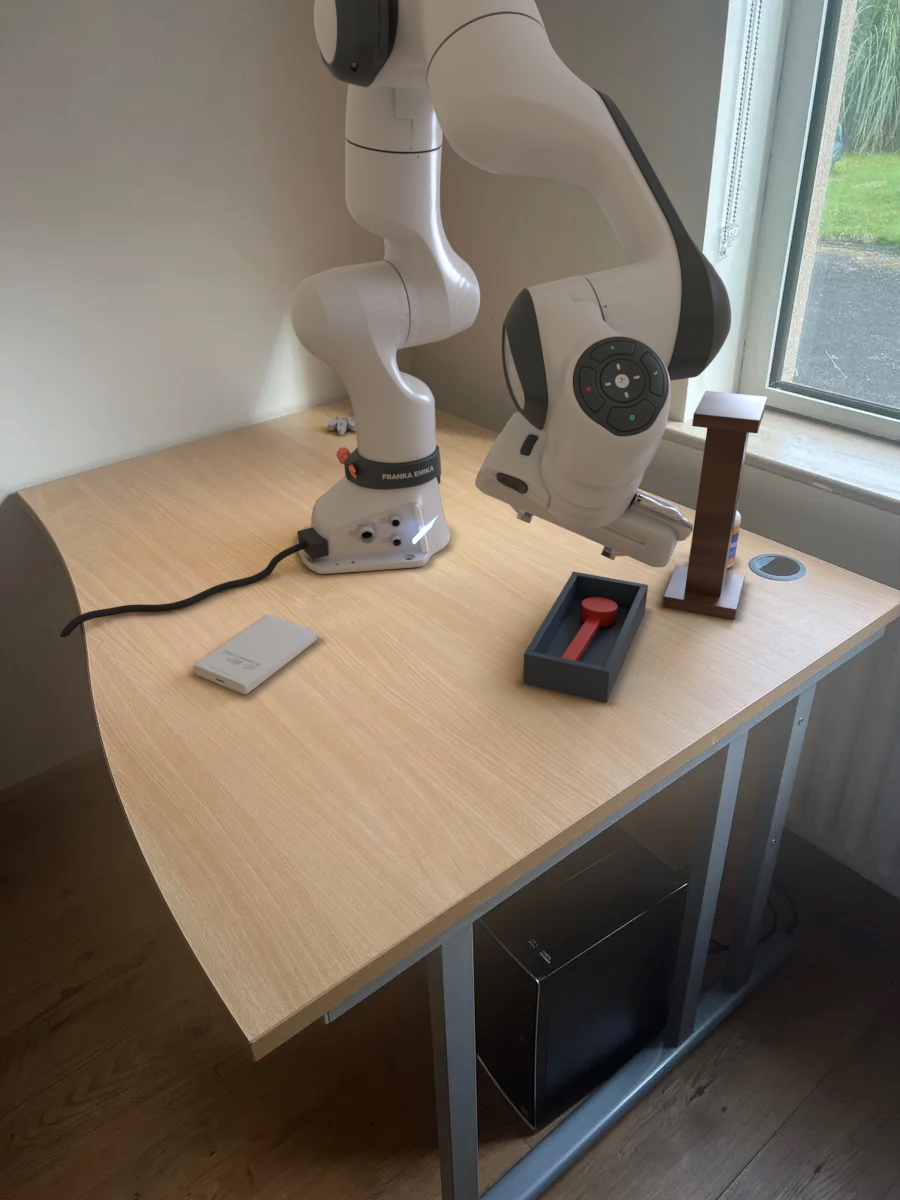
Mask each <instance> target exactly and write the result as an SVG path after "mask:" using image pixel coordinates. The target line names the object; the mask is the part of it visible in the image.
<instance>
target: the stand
mask: <svg viewBox="0 0 900 1200" xmlns="http://www.w3.org/2000/svg"><path fill="white" fill-rule="evenodd" d="M767 402H768V396H763V395H755V394H753V395H752V394H744V393H734V392H733V393H732V392H723V391H713V390H712V391H711V390H705V392H704V394H703V395H702V397H701V399H700V401H699V403H698V404H697V407H696V408H695V411H694V412H693V414H692V415H693V416H692V424H691V426H692V427H694V428H695V427H697V428H703V429H706V434H705V440H704V441H705V442H704V448H703V455H702V463H701V471H700V478H699V485H698V492H697V500H696V506H695V514H694V521H693V531H692V536H691V541H690V542H691V544H690V550H689V558H688V565H683V564H675V565H674V569H673V572H672V574H671V576H670V579H669V581H668V584H667V586H666V589H665V591H664V593H663V597H662V604H661V607H665V608H671V609H675V610H681V611H686V612H691V613H697V614H702V615H707V616H708V615H709V616H714V617H719V618H724V619H729V620H736V616H737V614H738V609H739V605H740V601H741V597H742V593H743V591H744V590H743V589H744V586H745V580H746V575H743V574H737V573H731V572H727V571H728V568H727V565H728V559H729V553H730V547H731V541H732V535H733V528H734V522H735V516H736V510H737V509H738V507H737V504H738V505H739V498H740V491H741V485H742V479H743V473H744V465H745V460H746V455H747V448H748V444H749V443H748V442H749V436H750V434H758V433H759V430H760V426H761V423H762V421H763V417H764V414H765V412H766V408H767ZM737 511H738V510H737Z"/></svg>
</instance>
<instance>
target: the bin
mask: <svg viewBox="0 0 900 1200" xmlns="http://www.w3.org/2000/svg"><path fill="white" fill-rule="evenodd" d="M570 574H571V575H570V576H569V578H568V579H567V581H566V583H565V585H564V586H563V587H562V590H561V591H560V593H559V595H558V596H557V597H556V599H555V601H554V603H553V605H552V606H551V608H550V609H549V612H548V613H547V614H546V616H545V618H544V620H543V621H542V623H541V624H540V626H539V628H538V630H537V632H536V633H535V634H534V637H533V638H532V640H531V642H530V643H529V645H528V646H527V648H526V650H525V651H524V653H523V675H522V676H523V677H522V679H523V680H522V684H524V685H529V686H533V687H537V688H542V689H546V690H551V691H555V692H559V693H564V694H568V695H573V696H577V697H582V698H585V699H590V700H593V701H599V702H602V703H607V702H608V701H609V699H610V696H611V693H612V691H613V690H614V686H615V684H616V681H617V679H618V677H619V674H620V673H621V671H622V668H623V665H624V663H625V661H626V658H627V655H628V654H629V651H630V649H631V646H632V644H633V641H634V639H635V636H636V634H637V632H638V629H639V627H640V625H641V622H642V620H643V618H644V615H645V613H646V606H647V599H648V598H647V597H648V589H649V584H645V583H640V582H636V581H628V580H624V579H618V578H612V577H606V576H602V575H601V576H600V575H595V574H590V573H583V572H578V571H572V573H570ZM591 597H601V598H607V599H610V600H612V601H614V602H615V603H616V604H617V606H618V608H617V617H616V622H615V623H614V624H613V625H610V626H604V627H600V628H599V629H598V631H597V632H596V634H595V636H594V637H593V639H592V640H591V642H590V644H589V645H588V647H587V648H586V650H585V652H584V653H583V655H582V656H581V658H580V660H579V661H575V660H570V659H565V658H561V657H562V656H563V654H564V653H565V651H566V650H567V648H568V647H569V645H570V644H571V642H572V641H573V639H574V638H575V636H576V635H577V633H578V632H579V630H580V629H581V627H582V626H583V624H584V622H583V621H582V620H581V618H580V613H581V603H582V601H583V600H584V599H587V598H591Z"/></svg>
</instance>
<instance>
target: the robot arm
mask: <svg viewBox="0 0 900 1200" xmlns="http://www.w3.org/2000/svg"><path fill="white" fill-rule="evenodd" d="M313 27H314V33H315V39H316V42H317V45H318V49H319V53H320V57H321V60H322V62H323V65H324V66H325V67H326V68H327V70H328V71H329V72H330V74H331V75H332V77H334V79H336V80H338V81H340V82H343V83H346V84H347V94H346V102H345V103H346V105H345V122H344V123H345V124H344V199H345V204H346V207H347V210H348V212H349V214H350V216H351V217H352V219H354V221H355V222H356V223H357V224H358V225H359V226H360V227H362V228H363V229H364V230H366V231H368V232H370V233H372V234H374V235H375V236H378V237H380V238H382V239H383V244H384V255H383V259H380V260H378V261H377V260H376V261H370V262H363V263H356V264H348V265H340V266H334V267H331V268H329V269H326V270H322V271H320V272H318V273H315V274H313V275H310V276H308V277H306V278H303V279H301V280H300V282H299V283H298V284H297V286H296V288H295V291H294V292H293V295H292V299H291V303H290V304H291V305H290V321H291V324H292V328H293V331H294V333H295V336H296V337H297V339H298V341H299V342H300V344H301V345H302V346H303V348H304V349H305V350H306V351H308V353H310V354H311V355H312V356H313V357H315V358H317V359H319V360H320V361H322V362H324V363H325V364H326V365H328V366H329V367H330V368H331V369H332V370H333V371H334V372H335V373H336V375H337V376H338V377H339V378H340V379H341V382H342V383H343V385H344V387H345V388H346V389H345V390H346V391H347V394H348V396H349V400H350V403H351V409H352V413H353V418H354V421H355V429H356V431H355V438H356V448H355V449H353V451H352V452H351V451H350V450H349V449H348V447H339V448H338V449H337V451H335V452H336V455H335V457H336V459H337V460H338V462H339V463H340V464H341V465H343V466H344V467H343V468H344V474H345V475H344V476H343V477H342V478H341V479H340V480H339V481H338V482H337V483H335V484H334V485H333V486H331V487H330V488H329V489H328V490H327V491H326V492H325V493H323V494H322V495H321V496H320V497H318V498H317V499H316V501H315V503H314V505H313V507H312V512H311V518H310V525H308V526H305V527H304V528H302V529H300V530H297V531H296V533H297V543H296V544H293V545H292V546H290V547H287V548H285V549H283V550H282V551H280V552H279V553H277V554H275V556H273V557H272V558H271V560H270V561H269V563H268V564H267V565H266V567H265V568H264V569H262V570H261V571H259V572H258V573H256V574H253V575H251V576H248V577H243V578H240V579H239V578H238V579H235V580H229V581H226V582H223V583H218V584H217V585H215V586H211V587H209V588H207V589H205V590H203V591H201V592H198V593H197V594H193V595H192V596H189V597H187V598H184V599H182V600H179V601H174V602H170V603H161V604H160V603H159V604H144V603H143V604H123V605H119V606H113V607H108V608H102V609H95V610H91V611H87V612H84V613H82V614H80V615H77V616H76V617H74V618H73V619H71V621H69V622H68V623H67V624H66V625H65V626H64V628H63V629H62V631H61V632H60V634H59V637H60V638H66V637H68V636H70V635H71V634H72V632H73V631H74V630H75V629H76V628H77V627H78V626H79V625H81V624H83V623H85V622H87V621H90V620H94V619H99V618H104V617H110V616H116V615H120V614H121V615H122V614H127V613H163V612H165V613H166V612H170V611H177V610H180V609H183V608H184V609H185V608H186V607H189V606H192V605H195V604H197V603H200V602H201V601H203V600H205V599H207V598H209V597H210V598H211V596H213V595H216V594H219V593H221V592H224V591H227V590H230V589H234V588H238V587H243V586H248V585H251V584H255V583H257V582H259V581H261V580H264V579H265V578H267V577H268V576H270V575H271V574H272V573H273V571H274V570H275V568H276V567H277V565H278V564H279V563H280V562H281V561H283V560H284V559H286V558H288V557H289V556H291V555H294V554H295V553H298V555H299V558H300V561H302V563H303V564H304V566H305V567H306V568H307V569H310V571H312V572H314V573H317V574H319V575H328V574H341V573H342V574H343V573H354V572H357V573H358V572H370V571H383V570H397V569H411V568H412V569H413V568H421V567H423V566H425V565H426V564H427V563H428V562H429V560H430V559H431V558H432V557H433V556H434V555H435V554H437V553H439V552H440V551H441V550H443V549H444V548H445V547H446V546H447V545H448V544H449V542H450V540H451V537H452V536H451V535H452V534H451V530H450V529H449V527H448V526H449V525H448V523H447V520H446V516H445V513H444V512H445V511H444V508H443V502H442V497H441V489H440V484H441V476H442V458H441V457H442V456H441V452H440V446H439V445H437V425H436V404H435V403H436V400H435V397H434V395H433V392H432V390H431V389H430V388H429V386H428V385H427V384H426V383H425V382H424V381H423V380H421V379H419V378H418V377H416V376H414V375H411V374H410V373H407V372H404V371H400V370H399V366H398V362H397V351H399V350H402V349H406V348H407V349H408V348H412V347H417V346H423V345H428V344H433V343H438V342H442V341H444V340H447V339H449V338H452V337H454V336H456V335H458V334H460V333H462V332H464V331H466V330H468V329H470V328H471V327H472V325H473V324H474V323H475V321H476V319H477V316H478V314H479V310H480V306H481V290H480V285H479V284H480V283H479V281H478V277H477V276H476V274H475V272H474V270H473V269H472V267H471V266H470V265H469V263H468V262H466V260H464V259H463V258H462V257H461V256H459V255H458V253H456V251H455V250H454V248H452V246H451V243H450V242H449V240H448V238H447V235H446V233H445V229H444V226H443V220H442V214H441V213H442V212H441V173H442V172H441V170H442V154H443V153H442V152H443V136H444V137H445V139H446V141H447V143H448V144H449V146H450V147H451V148H452V150H453V151H454V152H455V153H456V154H457V155H458V156H459V157H460V158H462V159H463V160H464V161H466V162H467V163H469V164H471V165H472V166H474V167H476V168H478V169H481V170H482V171H485V172H488V173H490V174H494V175H498V176H504V177H513V178H514V177H515V178H526V179H535V180H542V181H548V182H554V183H557V184H562V185H566V186H569V187H573V188H574V189H578V190H580V191H581V192H583V193H585V194H587V195H588V196H590V197H591V198H592V199H593V200H594V201H595V202H596V203H597V204H598V205H599V207H600V208H601V210H602V212H603V214H604V216H605V217H606V218H605V219H606V220H607V222H608V224H609V226H610V227H611V230H612V231H613V233H614V235H615V237H616V239H617V240H618V242H619V244H620V246H621V248H622V250H623V252H624V254H625V255H626V258H627V259H628V261H629V263H630V264H625V265H622V266H617V267H613V268H608V269H604V270H599V271H596V272H591V273H587V274H577V275H572V276H568V277H563V278H560V279H555V280H551V281H548V282H543V283H539V284H536V285H532V286H530V287H527V288H525V287H524V288H523V289H521V291H520V292H519V293H518V294H517V295H516V296H515V298H514V300H513V301H512V302H511V305H510V307H509V309H508V311H507V312H506V315H505V318H504V319H503V323H502V329H501V361H502V369H503V374H504V380H505V383H506V387H507V390H508V392H509V393H508V394H509V395H510V398H511V400H512V403H513V404H514V406H515V408H516V409H517V412H514V413H513V414H512V415H511V417H509V419H508V421H507V422H506V424H505V425H504V427H503V429H502V431H501V432H500V433H498V434H497V436H496V437H495V439H494V441H493V443H492V445H491V446H490V448H489V451H488V452H487V454H486V456H485V458H484V460H483V462H482V464H481V466H480V468H479V470H478V472H477V475H476V477H475V480H474V481H475V482H474V484H475V485H474V486H475V487H476V488H477V490H479V491H480V492H481V493H482V494H484V495H486V496H489V497H491V498H493V499H495V500H498V501H500V502H503V503H504V504H507V505H509V506H510V507H511V508H512V509H513V511H515V512H516V513H517V514H516V519H517V520H520V521H521V522H525V523H527V524H531V522H532V519H533V517H537V518H539V519H542V520H544V521H546V522H549V523H551V524H552V525H556V526H558V527H560V528H562V529H565V530H567V531H569V532H572V533H574V534H576V535H578V536H580V537H583V538H585V539H587V540H590V541H593V542H595V543H597V544H599V545H601V546H603V548H602V550H601V553H600V556H603V557H605V558H608V559H609V560H611V561H615V559H616V558H617V557H629V558H631V559H634V560H636V561H638V562H641V563H643V564H645V565H647V566H649V567H652V568H665V567H666V566H668V564H669V562H670V559H671V557H672V556H673V553H674V551H675V549H676V546H677V544H678V542H683V541H686V540H687V539H688V538H689V537H690V536H691V534H693V528H694V523H693V522H691V521H689V520H688V519H687V518H684V514H683V512H682V511H681V510H680V508H678V507H677V506H676V505H673V504H672V503H670V502H668V501H666V500H663V499H661V498H658V497H656V496H653V495H651V494H649V493H647V492H644V491H642V490H639V487H640V485H641V483H642V481H643V479H644V476H645V471H646V470H647V469H648V467H649V466H651V465H650V464H652V462H653V460H654V457H655V455H656V453H657V452H658V450H659V448H660V445H661V442H662V440H663V437H664V434H665V431H666V428H667V424H668V420H669V414H670V408H671V398H672V386H671V382H672V381H678V380H679V381H680V380H683V379H691V378H697V377H699V376H700V375H701V374H703V372H704V371H705V370H706V369H707V368H708V367H709V366H710V364H711V363H712V362H713V361H714V360H715V358H716V357H717V356H718V354H719V353H720V351H721V350H722V348H723V346H724V344H725V343H726V340H727V338H728V336H729V333H730V332H731V326H732V307H731V302H730V301H731V300H730V297H729V293H728V290H727V287H726V285H725V283H724V281H723V278H722V277H721V275H720V272H718V270H717V269H716V268H715V266H714V265H713V264H712V263H711V261H710V259H709V258H707V256H706V255H705V254H704V252H703V251H702V250H701V249H700V247H699V246H698V245H697V243H696V242H695V241H694V239H693V238H692V237H691V235H690V233H689V231H688V229H687V228H686V226H685V225H684V223H683V220H682V219H681V217H680V215H679V214H678V211H677V210H676V208H675V206H674V205H673V204H674V203H672V200H671V199H670V197H669V195H668V193H667V192H666V190H665V188H664V186H663V183H662V182H661V180H660V179H659V177H658V175H657V173H656V171H655V169H654V167H653V166H652V164H651V162H650V160H649V159H648V156H647V155H646V153H645V151H644V149H643V147H642V146H641V143H640V142H639V141H638V138H637V137H636V135H635V133H634V131H633V130H632V128H631V126H630V125H629V123H628V121H627V120H626V118H625V116H624V115H623V113H622V112H621V111H620V109H619V107H618V106H617V104H616V103H615V102H614V100H613V98H611V97H610V96H609V95H608V94H606V93H605V92H602V91H600V90H598V89H596V88H594V87H591V86H589V85H588V84H587V83H586V82H584V81H583V80H582V79H581V78H579V77H578V76H577V75H576V74H574V72H572V70H570V69H569V68H568V67H567V65H566V64H565V63H564V62H563V60H562V59H561V58H560V57H559V56H558V54H557V52H556V51H555V49H554V48H553V46H552V44H551V42H550V39H549V37H548V36H549V35H548V33H547V29H546V27H545V24H544V21H543V18H542V16H541V13H540V11H539V8H538V5H537V4H536V0H314V5H313Z"/></svg>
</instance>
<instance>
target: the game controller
mask: <svg viewBox="0 0 900 1200" xmlns="http://www.w3.org/2000/svg"><path fill="white" fill-rule="evenodd" d="M351 415H353V412H350V413H349V416H339V415H336V416H335V417H333V418H330V419H329V421H328V422H327V428H328V431H334V430H337V435H338V436H343V435H344V434H345V432H347V430H348V428H349V429H350V431H352V432H356V429H355V421H354V417H351ZM353 416H354V415H353Z"/></svg>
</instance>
